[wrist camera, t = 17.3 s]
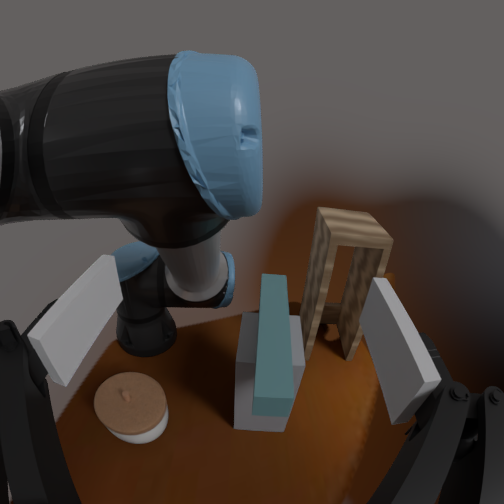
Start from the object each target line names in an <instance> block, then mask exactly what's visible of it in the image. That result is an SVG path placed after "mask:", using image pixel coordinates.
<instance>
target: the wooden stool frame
mask: <svg viewBox="0 0 504 504" xmlns="http://www.w3.org/2000/svg"><path fill="white" fill-rule="evenodd" d="M392 244H393V239H392V238H391V237H390V235H389V234H388V233H387V232H386V231H385V230H384V229H383V228H382V227H381V226H380V225H379V224H378V222H376V220H375V219H374V218H373V217H372V216H371V215H370V214H369V213H366V212H358V211H350V210H342V209H333V208H324V207H318V208H317V215H316V222H315V229H314V235H313V241H312V247H311V254H310V260H309V265H308V271H307V276H306V282H305V287H304V293H303V298H302V303H301V308H300V313H299V316H300V321H301V330H302V339H303V348H304V358H305V360H309V358H310V355H311V352H312V348H313V345H314V341H315V338H316V334H317V330H318V327H319V324H337V328H338V332H339V335H340V339H341V343H342V347H343V351H344V355H345V359H346V361H352V359H353V356H354V354H355V352H356V349H357V347H358V344H359V342H360V340H361V337H362V335H363V331H362V328H361V325H360V322H359V319H360V316H361V313H362V310H363V307H364V304H365V301H366V298H367V295H368V292H369V289H370V285H371V282H372V279H373V277H374V278H383V275H384V272H385V268H386V265H387V261H388V258H389V255H390V251H391V247H392ZM338 245H346V246H355V249H354V254H353V258H352V262H351V266H350V270H349V274H348V278H347V282H346V286H345V289H344V293H343V297H342V300H341V303H325V299H326V295H327V291H328V287H329V283H330V278H331V274H332V269H333V265H334V260H335V255H336V251H337V246H338Z"/></svg>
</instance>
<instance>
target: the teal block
mask: <svg viewBox="0 0 504 504" xmlns="http://www.w3.org/2000/svg"><path fill="white" fill-rule="evenodd" d="M293 401H294V384H293V365H292V349H291V333H290V319H289V306H288V293H287V281H286V276H285V275H273V274H262V279H261V290H260V304H259V320H258V334H257V349H256V363H255V377H254V390H253V404H252V415H256V416H273V417H288V416H289V413H290V410H291V407H292V404H293Z"/></svg>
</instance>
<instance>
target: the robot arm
mask: <svg viewBox="0 0 504 504" xmlns="http://www.w3.org/2000/svg"><path fill="white" fill-rule="evenodd" d="M262 169H263V165H262V128H261V108H260V96H259V85H258V78H257V74H256V71H255V69H254V68H253V66H252V65H251V64H250V63H249V62H248V61H246V60H245V59H243V58H241V57H238V56H234V55H222V54H200V53H198V52H195V51H182V52H179V53H178V54H175V55H160V56H149V57H140V58H132V59H125V60H119V61H113V62H108V63H102V64H97V65H92V66H88V67H83V68H79V69H76V70H72V71H69V72H63V73H60V74H56V75H53V76H50V77H46V78H43V79H40V80H37V81H34V82H31V83H28V84H24V85H21V86H18V87H15V88H11V89H7V90H2V91H0V225H4V224H8V223H15V222H24V221H32V220H53V219H54V220H55V219H88V218H119V219H120V221H121V222H122V223H123V225H124V226H125V228H126V229H127V230H128V231H129V232H130V233H131V234H132V235H133V236H134V237H135V238H136V239H138V240H139V242H133V243H130V244H127V245H125V246H122V247H120V248H119V249H117V250H116V251H114V252H113V253H112V254H111V255H102V256H101V257H100V258H99V259H98V260H96V261H95V262H94V263H93V264H92V265H91V266H90V267H89V268H88V269H87V270H86V271H85V272H84V273H83V274H82V275H81V276H80V277H79V278H78V279H77V280H76V281H75V282H74V284H72V285H71V287H70V288H69V289H68V290H67V291H66V292H65V293H64V294H63V295H62V296H61V297H60V298H59V299H56V300H54V301H53V302H51V303H50V304H48V305H47V307H46V308H45V309H44V310H43V311H42V313H40V314H39V315H38V317H37V318H36V319H35V320H34V321H33V322H32V323H31V324H30V325H29V327H28V328H27V329H26V330H25V332H24V333H23V334H22V335H20V334H19V332H18V330H17V327H16V325H15V324H14V322H13V321H11V320H4V321H2V322H0V504H9V497H8V483H9V487H10V491H11V495H12V499H13V503H14V504H81V501H80V499H79V497H78V494H77V492H76V489H75V487H74V484H73V481H72V479H71V476H70V473H69V470H68V467H67V464H66V461H65V458H64V455H63V451H62V448H61V444H60V441H59V437H58V433H57V429H56V425H55V421H54V416H53V411H52V406H51V401H50V395H49V389H48V383H47V380H46V379H45V377H46V375H47V374H49V375H50V377H51V379H52V380H53V381H54V382H55V383H58V384H60V385H62V386H65V387H67V385H68V383H69V381H70V380H71V378H72V376H73V375H74V373H75V371H76V370H77V368H78V366H79V365H80V363H81V362H82V360H83V358H84V357H85V355H86V354H87V352H88V350H89V349H90V347H91V346H92V344H93V342H94V341H95V340H96V338H97V337H98V335H99V333H100V332H101V330H102V329H103V327H104V326H105V325H106V323H107V321H108V320H109V319H110V317H111V316H112V314H113V313H114V311H115V310H117V313H118V318H117V330H116V333H117V338H118V341H119V344H120V346H121V347H122V349H123V350H124V351H126V352H127V353H129V354H131V355H134V356H139V357H150V356H155V355H158V354H161V353H163V352H165V351H166V350H168V349H169V348H170V347H171V346H172V345H173V344H174V342H175V340H176V337H177V330H176V325H175V322H174V320H173V318H172V316H171V315H170V313H169V311H168V310H167V308H166V307H185V308H214V309H217V308H219V307H227V306H228V305H229V304H230V303H231V301H232V298H233V292H234V285H235V268H234V261H233V258H232V255H231V254H230V253H228V252H224V251H220V241H221V230H222V229H223V228H224V227H225V226H226V225H227V223H228V222H229V221H230V220H237V219H239V218H240V217H249V216H253V215H255V214H256V213H258V212H259V210H260V208H261V205H262V191H263V190H262V189H263V170H262ZM359 322H360V325H361V328H362V331H363V333H364V336H365V339H366V342H367V345H368V348H369V351H370V354H371V357H372V360H373V363H374V366H375V369H376V372H377V375H378V379H379V382H380V385H381V388H382V392H383V395H384V399H385V402H386V405H387V409H388V413H389V416H390V420H391V424H392V425H393V424H399V423H404V422H408V421H409V420H410V419H411V417H412V416H413V415H414V414H415V416H416V419H417V421H416V422H415V423H414V424H413V426H411V427H410V429H408V431H407V432H406V433H405V435H407V434H408V433H409V432H410V433H409V435H408V437H407V439H406V441H405V442H404V445H403V446H402V448H401V450H400V452H399V454H398V455H397V457H396V459H395V461H394V462H393V464H392V466H391V468H390V469H389V471H388V473H387V474H386V476H385V477H384V479H383V481H382V482H381V484H380V485H379V487H378V488H377V490H376V491H375V493H374V494H373V496H372V497H371V498H370V500H369V501H368V502H367V504H434V503H435V501H436V499H437V497H438V495H439V492H440V490H441V488H442V490H441V494H440V498H439V502H438V504H504V394H503V392H502V391H501V390H500V389H499V388H497V387H495V386H490V387H488V388H486V390H485V391H484V392H483V393H482V394H474V393H469V391H468V389H467V388H466V387H465V386H464V385H463V384H461V383H459V382H453V380H452V378H451V376H450V374H449V372H448V370H447V368H446V366H445V364H444V362H443V360H442V358H441V357H440V354H439V352H438V351H437V350H436V347H435V345H434V343H433V341H432V340H431V339H430V338H429V337H428V336H427V335H426V334H425V333H418V332H417V330H416V328H415V327H414V325H413V323H412V321H411V319H410V317H409V316H408V314H407V312H406V311H405V309H404V307H403V305H402V304H401V302H400V300H399V299H398V297H397V295H396V293H395V292H394V290H393V289H392V287H391V285H390V284H389V282H388V280H387V279H386V278H374V277H373V279H372V282H371V285H370V289H369V292H368V295H367V298H366V301H365V304H364V307H363V310H362V313H361V316H360V319H359ZM477 434H478V440H477ZM7 479H8V480H7Z"/></svg>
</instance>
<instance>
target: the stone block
mask: <svg viewBox="0 0 504 504" xmlns="http://www.w3.org/2000/svg"><path fill="white" fill-rule="evenodd" d="M289 319H290V333H291V349H292V365H293V384H294V400H295V397H296V394H297V391H298V388H299V385H300V382H301V378H302V375H303V372H304V369H305V358H304V348H303V339H302V330H301V321H300V316H293V315H289ZM258 320H259V313H251V312H243V315H242V322H241V329H240V336H239V343H238V350H237V357H236V371H235V406H234V429H242V430H254V431H273V432H284V429H285V426H286V424H287V421H288V418H289V416H288V417H273V416H256V415H252V404H253V390H254V377H255V363H256V349H257V334H258ZM293 403H294V401H293ZM292 406H293V404H292ZM291 409H292V407H291ZM290 412H291V410H290ZM289 415H290V413H289Z"/></svg>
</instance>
